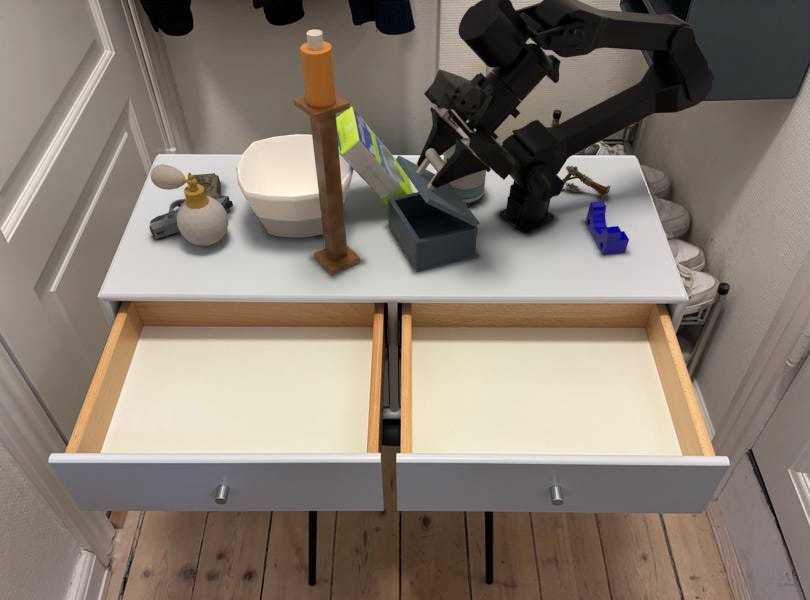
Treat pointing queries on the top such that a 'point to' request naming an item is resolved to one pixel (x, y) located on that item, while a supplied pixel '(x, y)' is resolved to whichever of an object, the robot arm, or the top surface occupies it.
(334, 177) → the stand
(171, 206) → the handgun
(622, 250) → the cable holder
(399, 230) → the compartment
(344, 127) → the box
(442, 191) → the lid
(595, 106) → the robot arm
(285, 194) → the bowl
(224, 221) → the perfume bottle
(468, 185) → the beverage can
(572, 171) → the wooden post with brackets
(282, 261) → the top surface
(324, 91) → the detergent bottle
